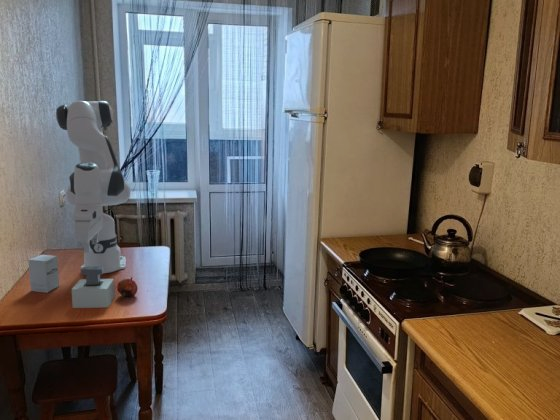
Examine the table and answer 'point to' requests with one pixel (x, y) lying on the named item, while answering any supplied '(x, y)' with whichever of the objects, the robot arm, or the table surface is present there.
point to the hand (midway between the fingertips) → (91, 247)
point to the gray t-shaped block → (92, 275)
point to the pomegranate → (127, 288)
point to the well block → (93, 294)
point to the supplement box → (43, 273)
